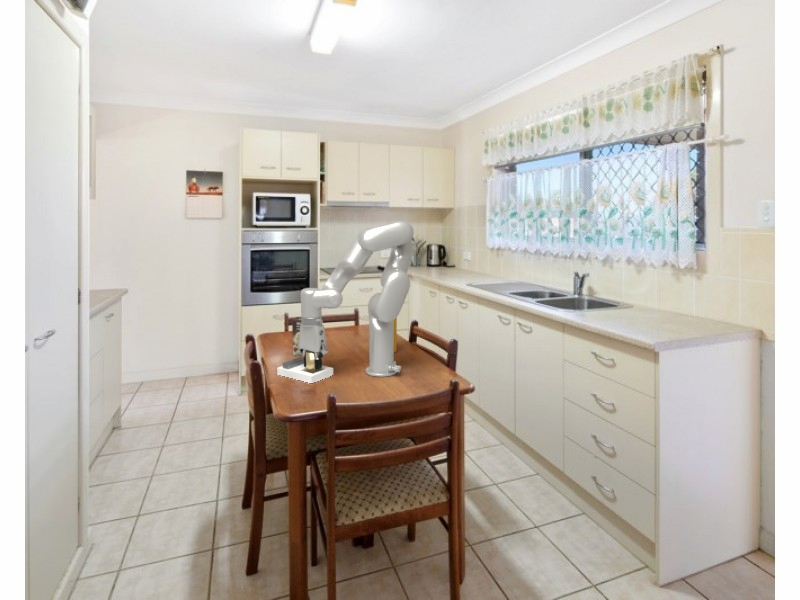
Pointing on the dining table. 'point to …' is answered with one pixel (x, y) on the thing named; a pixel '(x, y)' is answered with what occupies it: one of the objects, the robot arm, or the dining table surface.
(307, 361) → the bushing
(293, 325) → the coffee box
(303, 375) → the jig
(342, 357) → the dining table surface
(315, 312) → the robot arm
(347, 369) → the dining table surface
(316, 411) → the dining table surface
